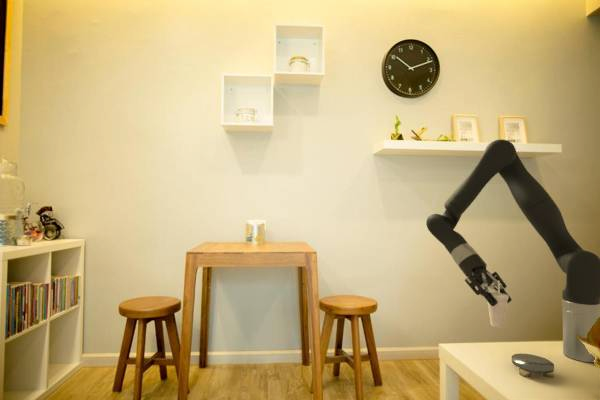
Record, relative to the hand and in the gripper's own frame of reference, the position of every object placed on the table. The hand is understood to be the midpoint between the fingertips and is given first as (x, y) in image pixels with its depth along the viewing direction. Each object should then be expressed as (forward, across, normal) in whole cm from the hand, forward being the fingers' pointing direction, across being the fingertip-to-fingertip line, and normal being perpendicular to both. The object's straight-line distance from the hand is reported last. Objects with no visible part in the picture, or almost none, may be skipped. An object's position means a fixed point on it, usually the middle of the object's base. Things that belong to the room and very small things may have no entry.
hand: (502, 303), depth 109 cm
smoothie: (+4, 0, +6) cm, 8 cm away
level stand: (+19, -2, +5) cm, 20 cm away
